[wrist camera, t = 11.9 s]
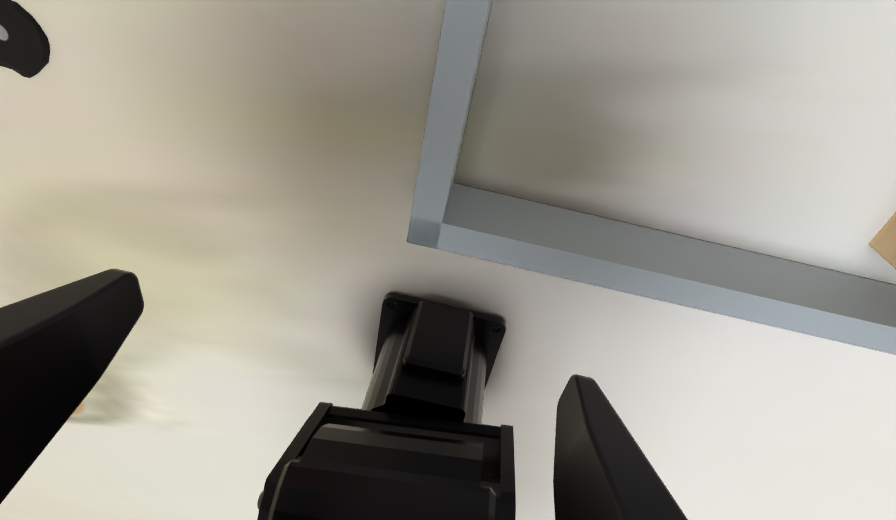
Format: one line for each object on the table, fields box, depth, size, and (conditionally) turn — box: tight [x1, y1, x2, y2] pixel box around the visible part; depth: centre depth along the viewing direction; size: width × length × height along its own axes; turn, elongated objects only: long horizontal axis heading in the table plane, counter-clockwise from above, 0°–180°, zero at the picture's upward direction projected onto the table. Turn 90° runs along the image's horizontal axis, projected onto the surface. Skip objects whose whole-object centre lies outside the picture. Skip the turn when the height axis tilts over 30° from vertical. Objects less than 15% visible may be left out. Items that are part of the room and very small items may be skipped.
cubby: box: [407, 0, 896, 355], centre depth 15 cm, size 16×22×4 cm
